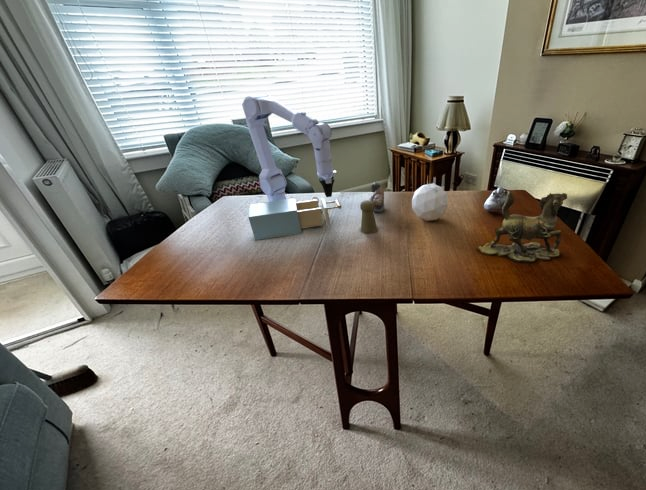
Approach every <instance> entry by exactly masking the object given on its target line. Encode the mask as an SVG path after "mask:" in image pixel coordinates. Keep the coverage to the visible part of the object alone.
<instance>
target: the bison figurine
mask: <svg viewBox="0 0 646 490" xmlns="http://www.w3.org/2000/svg"><path fill="white" fill-rule="evenodd" d="M370 187H371V188H370V189H371V192H372V195H370V198H369V201H372V202H373V203H374V205H375V208H374V210H373V211H374V213H381V212H382V211H383V210H384V208H385V191H384V188H383V187H382V186H381V184H380V183H379V182H376V181H374V182H373V183H372V184H371V185H370Z"/></svg>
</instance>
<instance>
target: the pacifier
mask: <svg viewBox="0 0 646 490" xmlns="http://www.w3.org/2000/svg"><path fill="white" fill-rule="evenodd" d="M317 199H318V204H319V203H320V199H319V198H318V196H313V197H312V199H311V200H317ZM319 208H321V214H323V210H322V205H319Z"/></svg>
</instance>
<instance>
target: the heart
mask: <svg viewBox="0 0 646 490" xmlns="http://www.w3.org/2000/svg"><path fill="white" fill-rule="evenodd" d="M509 192H510V191H508V190H505V189H504V188H503V187H502V186H499V187H497V189H494V190H493V191H492V192H491V194H490V195H489V196H488V198H487V199H486V201H485V202H484V205H483V208H484V210H485V211H486V212H487V213H497V212H500V211H502V208H503V205H504V203H505V201H506V197H507V194H508V193H509Z"/></svg>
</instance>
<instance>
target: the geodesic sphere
mask: <svg viewBox="0 0 646 490" xmlns="http://www.w3.org/2000/svg"><path fill="white" fill-rule="evenodd" d="M448 202H449V201H448V194H447V193H446V191H445V189H444V188H443V187H442V186H440V185H437V184H435V183H427V184H423V185H421V186H420V187H418V188H417V189H416V190H414V193H413V196H412V198H411V207H412V211H413V213H414V214H415V215H416V216H417V217H418V218H420V219H422V220H424V221H425V222H430V221H431V222H432V221H437V220H438V219H440V218H441V217H442V216H443V215H445V213H446V210H447V208H448V205H449V203H448Z"/></svg>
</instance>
